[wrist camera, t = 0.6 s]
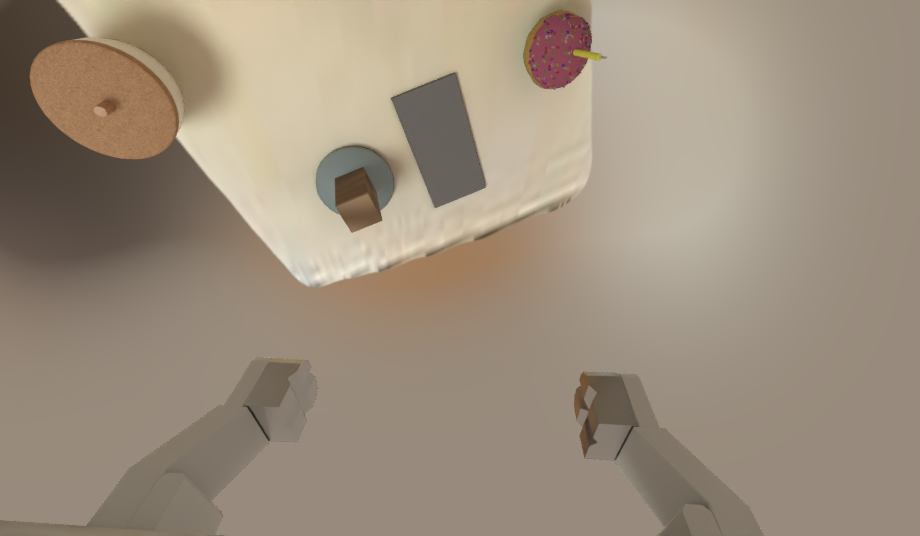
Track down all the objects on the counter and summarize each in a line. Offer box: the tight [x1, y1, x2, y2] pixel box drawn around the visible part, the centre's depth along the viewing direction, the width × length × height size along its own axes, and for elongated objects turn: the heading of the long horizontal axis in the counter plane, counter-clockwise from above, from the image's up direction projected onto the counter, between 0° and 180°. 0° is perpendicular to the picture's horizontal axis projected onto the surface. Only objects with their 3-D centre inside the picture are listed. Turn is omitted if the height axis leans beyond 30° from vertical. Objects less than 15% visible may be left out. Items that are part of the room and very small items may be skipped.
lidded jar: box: [30, 38, 184, 159], centre depth 37 cm, size 11×11×9 cm
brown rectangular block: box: [335, 167, 382, 233], centre depth 51 cm, size 4×4×8 cm
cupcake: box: [523, 10, 607, 90], centre depth 45 cm, size 9×8×12 cm
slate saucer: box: [316, 146, 394, 215], centre depth 53 cm, size 11×11×3 cm
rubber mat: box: [391, 73, 486, 208], centre depth 55 cm, size 18×9×1 cm, turn 16°
